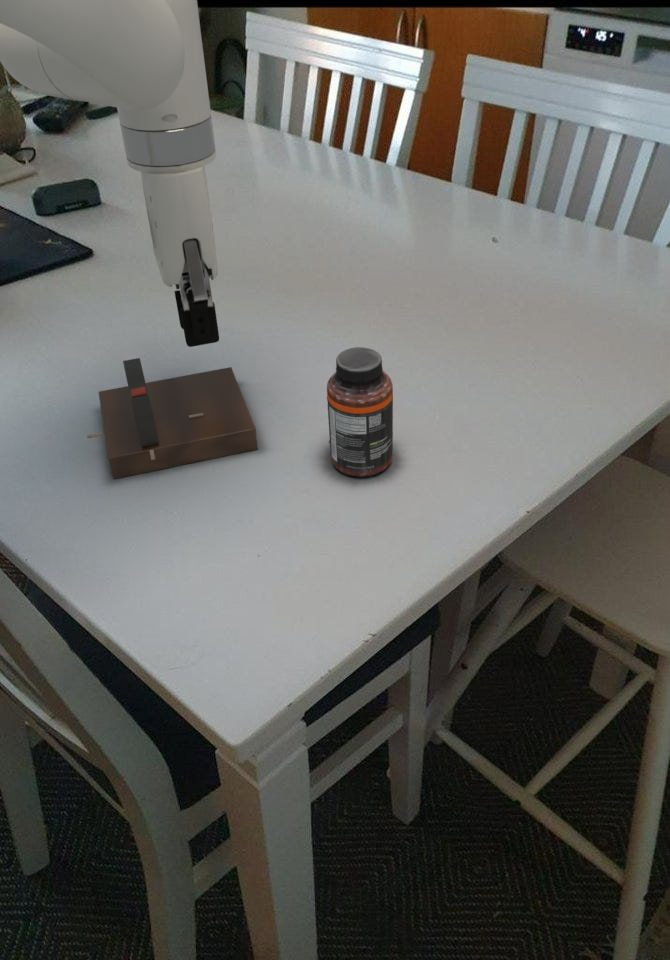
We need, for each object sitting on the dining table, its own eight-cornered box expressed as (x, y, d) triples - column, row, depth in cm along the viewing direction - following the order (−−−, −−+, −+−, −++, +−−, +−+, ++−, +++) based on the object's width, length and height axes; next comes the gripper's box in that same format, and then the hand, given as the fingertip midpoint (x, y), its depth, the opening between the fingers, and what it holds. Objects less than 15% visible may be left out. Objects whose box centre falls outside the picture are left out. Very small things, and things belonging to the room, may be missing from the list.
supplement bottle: (352, 434, 81) (350, 333, 73) (404, 453, 78) (406, 351, 71) (318, 466, 77) (311, 363, 70) (371, 487, 74) (370, 383, 67)
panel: (97, 493, 75) (91, 471, 73) (88, 414, 85) (82, 392, 83) (261, 458, 78) (259, 436, 76) (233, 386, 88) (231, 365, 86)
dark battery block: (133, 408, 81) (122, 358, 77) (149, 405, 81) (139, 355, 78) (142, 447, 76) (130, 396, 72) (159, 444, 76) (148, 393, 72)
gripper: (115, 120, 73) (151, 304, 85) (134, 178, 61) (173, 383, 73) (197, 110, 75) (221, 293, 87) (232, 165, 63) (255, 368, 75)
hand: (199, 333), depth 80 cm, fingers closed on chess pawn, 2 cm apart
